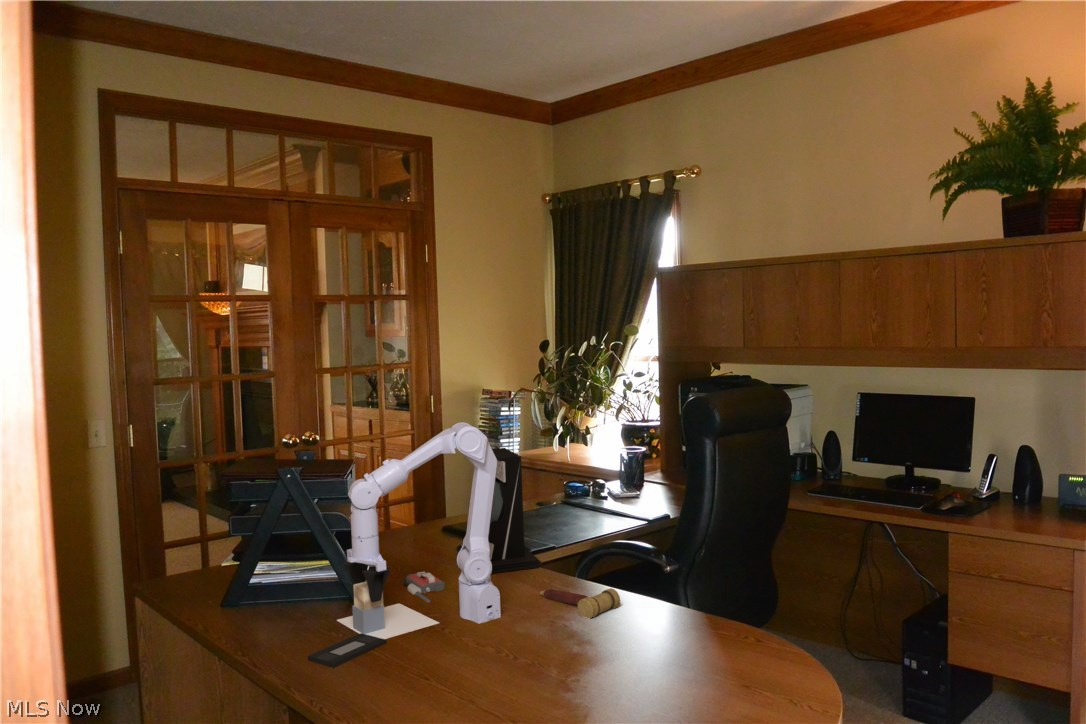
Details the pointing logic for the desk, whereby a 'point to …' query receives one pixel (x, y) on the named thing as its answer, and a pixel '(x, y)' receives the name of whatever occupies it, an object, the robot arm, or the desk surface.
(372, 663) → the desk surface
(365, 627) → the slate block
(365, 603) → the maple cube
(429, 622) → the blank cream board
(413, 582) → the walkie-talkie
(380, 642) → the vhs tape
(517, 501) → the award
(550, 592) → the gavel
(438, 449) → the robot arm
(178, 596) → the desk surface
